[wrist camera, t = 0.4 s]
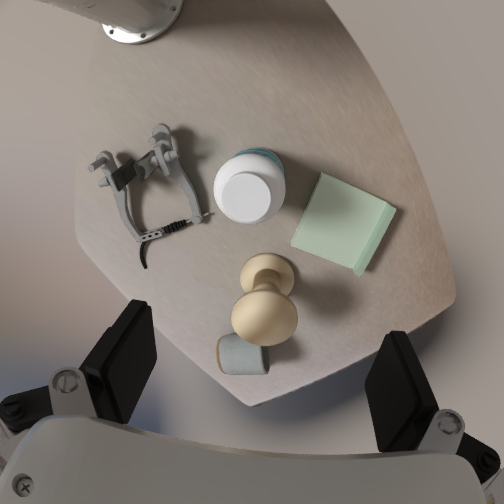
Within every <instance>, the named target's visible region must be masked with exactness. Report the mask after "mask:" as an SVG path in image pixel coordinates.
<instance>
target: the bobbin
mask: <svg viewBox="0 0 504 504" xmlns="http://www.w3.org/2000/svg"><path fill="white" fill-rule="evenodd" d="M240 281H241V286H242V288H243V290H244V292H245V293H246V294H244V295H243V296H242V297H240V298H239V299H238V300H237V302H236V303H235V305H234V308H233V311H232V317H231V321H232V326H233V328H234V330H235V332H236V333H237V334H238V335H239V336H240V337H241V338H242V339H244V340H245V341H247V342H249V343H251V344H255V345H259V346H271V345H276V344H279V343H282V342H284V341H285V340H287V339H288V338H289V337H291V335H292V334H293V333H294V332H295V330H296V327H297V323H298V317H297V310H296V307H295V305H294V303H293V302H292V301H291V300H290V299H289V298H288V297H287V295H288V294H289V293H290V292H291V290H292V288H293V285H294V272H293V269H292V267H291V265H290V264H289V262H288V261H287V260H286V259H284V258H283V257H281V256H279V255H277V254H273V253H262V254H258V255H255V256H253V257H252V258H250V259H249V260H248V261H247V262H246V263H245V264H244V266H243V268H242V272H241V277H240Z"/></svg>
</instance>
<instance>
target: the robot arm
mask: <svg viewBox="0 0 504 504" xmlns="http://www.w3.org/2000/svg"><path fill="white" fill-rule="evenodd" d="M34 1H39V2H42V3H46V4H50V5H53V6H56V7H59V8H62V9H65V10H67V11H70V12H73V13H76V14H78V15H81V16H84V17H86V18H89V19H92V20H94V21H97V22H99V23H101V24H102V26H103V29H104V31H105V32H106V34H107V35H108V36H109V37H110V38H111V39H113V40H115V41H117V42H120V43H123V44H139V43H144V42H147V41H149V40H152V39H154V38H155V37H157V36H159V35H160V34H162V33H163V32H164V31H166V30H167V29H168V28H169V27H170V26H171V25H172V24H173V22H174V21H175V20H176V18H177V17H178V15H179V13H180V11H181V9H182V5H183V0H34ZM175 9H176V10H175ZM174 10H175V11H174ZM145 36H146V37H145ZM154 337H155V336H154V328H153V319H152V309H151V306H148V304H147V302H146V301H140V300H135V299H133V300H131V301H130V303H129V304H128V306H127V307H126V308H125V310H124V311H123V312H122V313H121V315H120V316H119V317H118V319H117V320H116V322H115V323H114V324H113V326H112V327H109V328H108V329H107V330H106V331H105V333H104V334H103V335H102V337H101V338H100V339H99V341H98V342H97V344H96V345H95V346H94V348H93V349H92V351H91V352H90V353H89V355H88V356H87V357H86V359H85V360H84V362H83V363H82V365H81V366H80V368H79V369H76V368H74V367H63V368H60V369H58V370H56V371H55V372H53V374H52V375H51V376H50V378H49V383H48V385H47V386H44V387H41V388H37V389H33V390H29V391H25V392H22V393H18V394H14V395H10V396H8V397H6V398H5V399H4V400H3V401H2V402H1V403H0V504H504V468H503V469H501V468H500V464H501V463H500V458H499V455H498V454H497V452H496V451H495V450H494V449H492V448H490V447H489V446H487V445H485V444H484V443H482V442H480V441H478V440H477V439H475V438H473V437H471V436H470V435H468V434H466V433H465V432H464V429H465V423H464V421H463V418H462V417H461V416H460V415H459V414H458V413H457V412H455V411H453V410H451V409H442V410H439V407H438V404H437V402H436V399H435V397H434V394H433V392H432V390H431V387H430V385H429V382H428V380H427V378H426V376H425V373H424V371H423V369H422V367H421V364H420V362H419V360H418V358H417V355H416V353H415V351H414V349H413V347H412V345H411V343H410V341H409V338H408V336H407V334H406V333H405V332H404V331H391V332H390V333H389V334H386V335H385V337H384V340H383V342H382V344H381V347H380V349H379V351H378V354H377V356H376V358H375V361H374V363H373V365H372V368H371V370H370V372H369V374H368V376H367V378H366V381H365V390H366V394H367V399H368V403H369V407H370V412H371V417H372V421H373V426H374V431H375V436H376V441H377V446H378V450H379V452H382V453H372V454H348V455H312V454H288V453H273V452H263V451H262V452H261V451H252V450H244V449H236V448H229V447H222V446H216V445H210V444H204V443H198V442H193V441H188V440H184V439H178V438H174V437H170V436H166V435H161V434H157V433H153V432H149V431H145V430H141V429H137V428H134V427H130V426H127V425H123V424H127V423H128V422H129V420H130V418H131V415H132V413H133V411H134V409H135V407H136V404H137V402H138V400H139V398H140V396H141V394H142V391H143V389H144V387H145V385H146V383H147V380H148V379H149V376H150V374H151V372H152V370H153V368H154V366H155V364H156V360H157V352H156V345H155V338H154Z"/></svg>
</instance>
